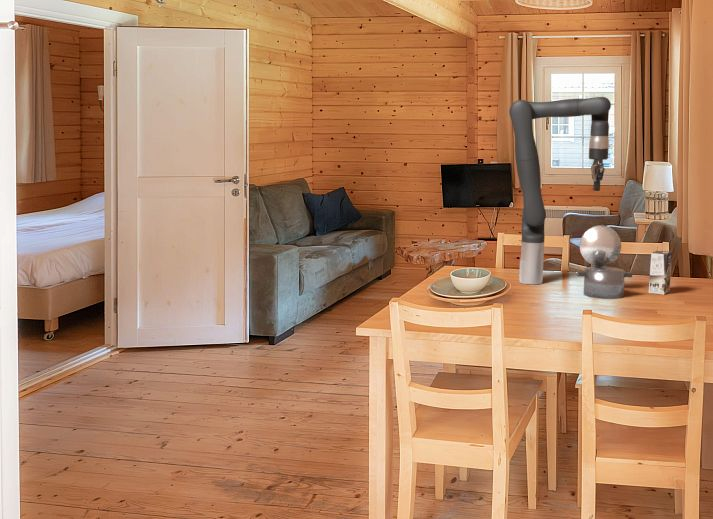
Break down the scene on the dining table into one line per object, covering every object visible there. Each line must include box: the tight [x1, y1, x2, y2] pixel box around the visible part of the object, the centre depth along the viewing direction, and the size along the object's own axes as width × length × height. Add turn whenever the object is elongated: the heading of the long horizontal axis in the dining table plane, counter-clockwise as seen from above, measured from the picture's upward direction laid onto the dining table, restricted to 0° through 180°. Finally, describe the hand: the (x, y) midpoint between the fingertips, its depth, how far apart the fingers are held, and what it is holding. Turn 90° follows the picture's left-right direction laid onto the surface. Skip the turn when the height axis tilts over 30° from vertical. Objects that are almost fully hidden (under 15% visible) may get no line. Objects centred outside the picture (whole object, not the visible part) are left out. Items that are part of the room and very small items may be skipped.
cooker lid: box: [579, 224, 622, 266], centre depth 362 cm, size 16×16×4 cm
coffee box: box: [648, 250, 673, 295], centre depth 361 cm, size 9×6×16 cm
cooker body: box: [576, 265, 633, 300], centre depth 355 cm, size 21×17×10 cm
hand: (596, 190), depth 369 cm, fingers closed
